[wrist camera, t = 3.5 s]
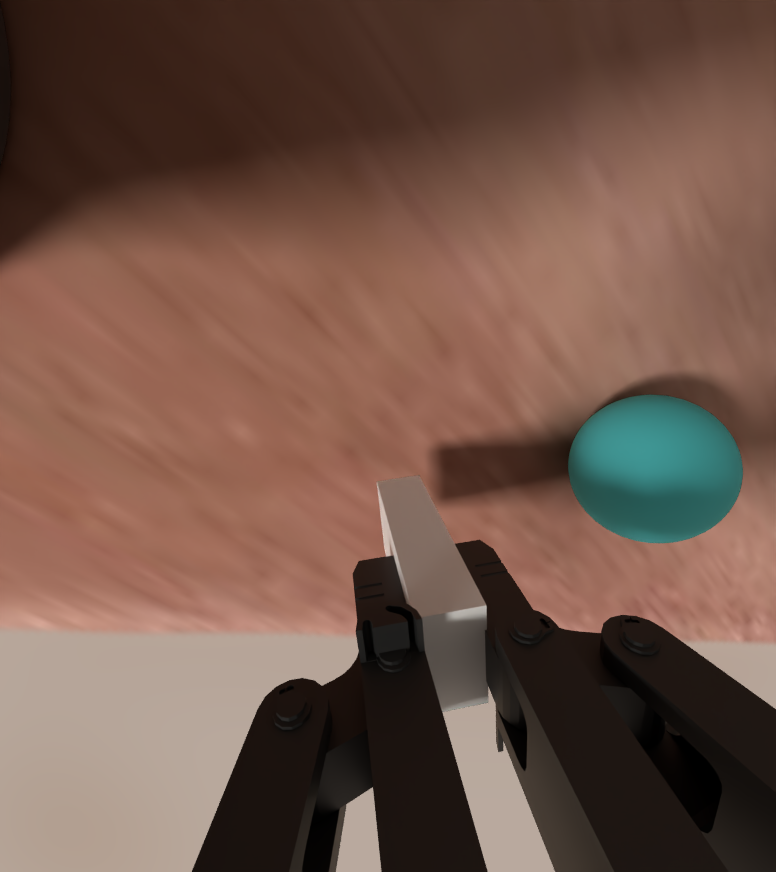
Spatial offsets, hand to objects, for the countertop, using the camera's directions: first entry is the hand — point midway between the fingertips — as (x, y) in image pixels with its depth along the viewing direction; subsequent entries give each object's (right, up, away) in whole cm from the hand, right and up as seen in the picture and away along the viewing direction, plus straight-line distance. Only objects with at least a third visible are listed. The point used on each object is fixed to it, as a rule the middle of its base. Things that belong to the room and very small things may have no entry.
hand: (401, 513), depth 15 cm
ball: (+9, +2, +1) cm, 9 cm away
